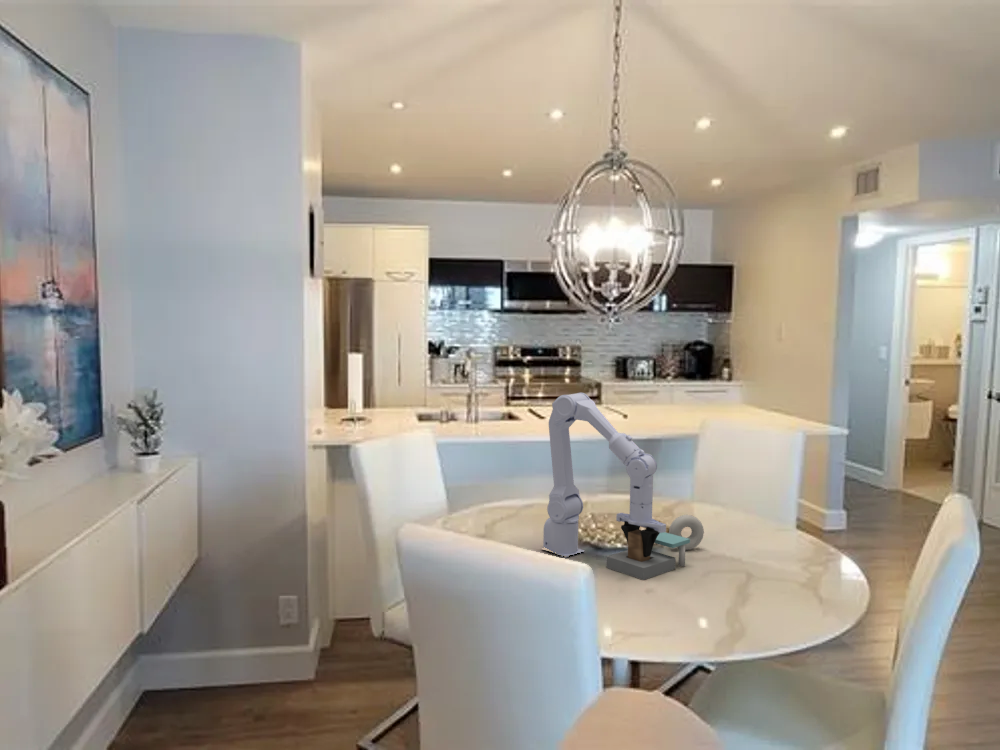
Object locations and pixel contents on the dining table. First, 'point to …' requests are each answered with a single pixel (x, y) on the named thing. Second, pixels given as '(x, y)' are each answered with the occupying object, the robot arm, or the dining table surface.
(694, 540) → the donut
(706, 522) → the dining table surface
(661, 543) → the teal mini table
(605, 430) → the robot arm
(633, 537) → the peg
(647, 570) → the socket block
